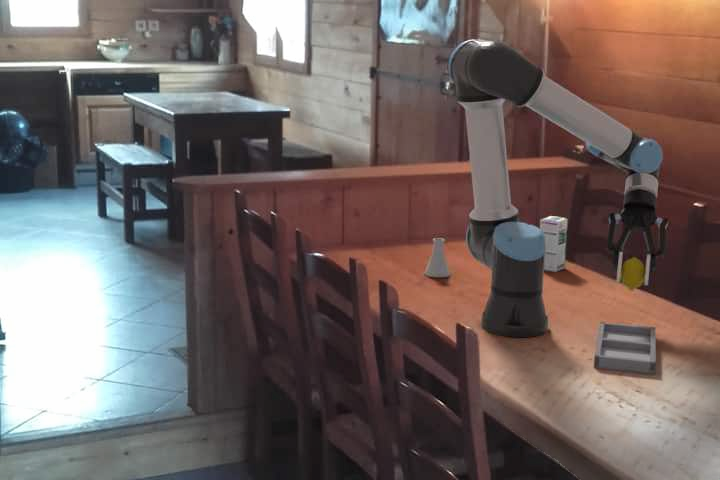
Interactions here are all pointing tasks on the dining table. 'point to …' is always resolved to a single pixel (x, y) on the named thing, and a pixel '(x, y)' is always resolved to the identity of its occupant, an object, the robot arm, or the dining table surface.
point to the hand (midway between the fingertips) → (632, 280)
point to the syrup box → (554, 242)
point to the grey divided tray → (626, 348)
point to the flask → (437, 261)
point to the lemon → (633, 273)
